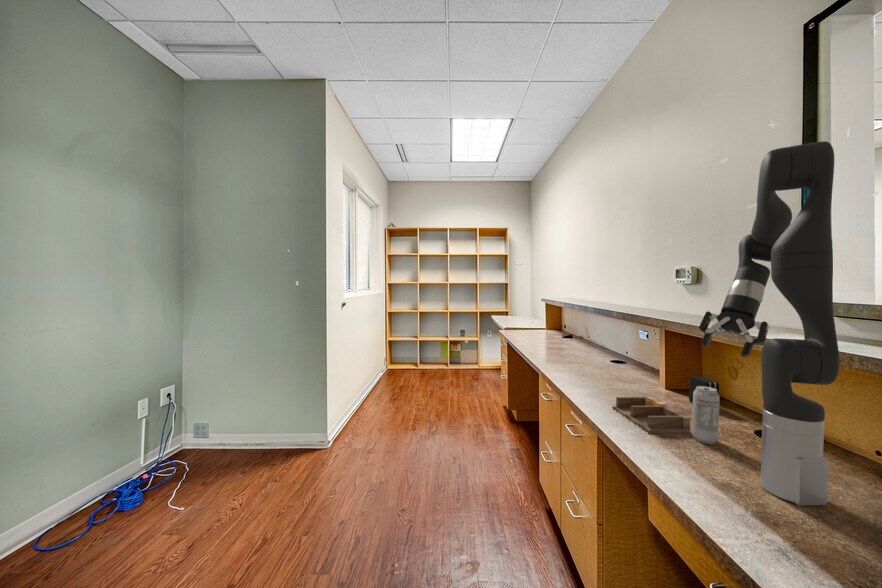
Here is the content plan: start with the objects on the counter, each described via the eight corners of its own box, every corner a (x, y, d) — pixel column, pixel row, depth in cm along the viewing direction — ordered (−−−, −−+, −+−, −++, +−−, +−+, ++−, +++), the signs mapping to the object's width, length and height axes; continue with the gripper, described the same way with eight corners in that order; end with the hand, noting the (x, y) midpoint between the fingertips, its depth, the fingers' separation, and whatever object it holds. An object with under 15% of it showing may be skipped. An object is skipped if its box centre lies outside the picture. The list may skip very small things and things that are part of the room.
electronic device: (700, 401, 132) (701, 375, 132) (718, 411, 123) (719, 383, 122) (688, 401, 133) (689, 375, 133) (705, 410, 123) (706, 382, 123)
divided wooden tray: (689, 432, 105) (690, 416, 105) (648, 433, 104) (648, 417, 104) (647, 408, 125) (647, 395, 125) (612, 408, 124) (612, 395, 124)
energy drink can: (716, 438, 101) (718, 387, 100) (719, 446, 96) (721, 393, 95) (691, 433, 104) (692, 384, 103) (692, 441, 99) (694, 389, 98)
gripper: (709, 289, 101) (690, 339, 99) (775, 298, 90) (754, 355, 88) (716, 299, 105) (697, 348, 104) (779, 309, 94) (759, 364, 92)
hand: (723, 351), depth 96 cm, fingers open, 8 cm apart
